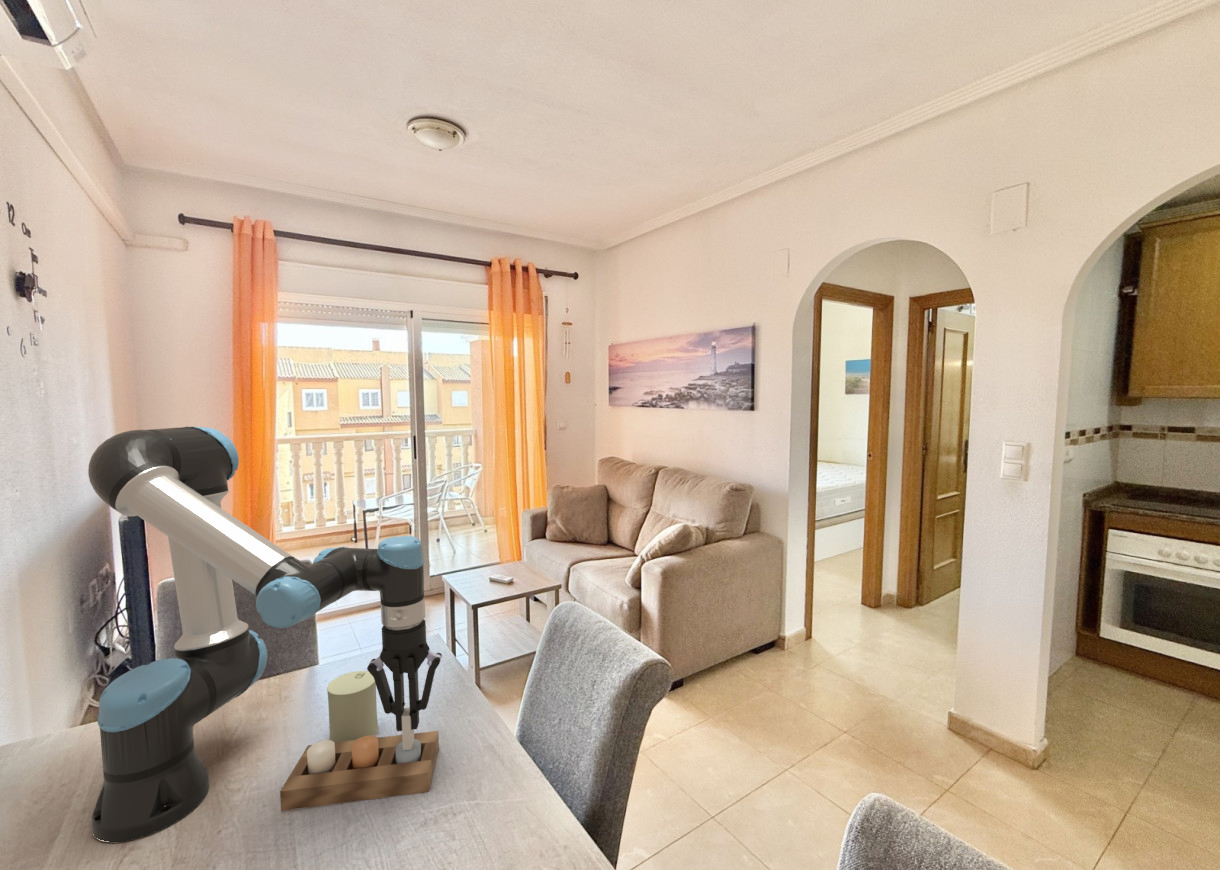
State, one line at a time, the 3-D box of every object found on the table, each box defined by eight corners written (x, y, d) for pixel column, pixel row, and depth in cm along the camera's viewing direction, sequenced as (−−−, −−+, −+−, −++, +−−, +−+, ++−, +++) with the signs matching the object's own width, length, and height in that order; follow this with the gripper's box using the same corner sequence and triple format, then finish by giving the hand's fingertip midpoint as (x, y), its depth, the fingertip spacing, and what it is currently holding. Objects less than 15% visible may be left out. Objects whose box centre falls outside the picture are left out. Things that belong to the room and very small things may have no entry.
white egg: (304, 782, 93) (303, 757, 93) (313, 765, 97) (312, 741, 97) (330, 779, 94) (329, 754, 93) (339, 762, 98) (338, 738, 98)
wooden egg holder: (281, 810, 89) (280, 791, 89) (308, 762, 101) (307, 745, 100) (428, 791, 93) (428, 772, 93) (438, 747, 105) (438, 730, 105)
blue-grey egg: (393, 779, 96) (393, 755, 95) (399, 763, 100) (398, 740, 100) (419, 776, 96) (418, 752, 96) (423, 760, 101) (422, 737, 100)
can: (387, 723, 113) (385, 669, 112) (362, 751, 104) (360, 693, 103) (346, 720, 114) (344, 667, 113) (319, 749, 105) (316, 691, 104)
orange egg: (349, 776, 94) (348, 752, 94) (356, 760, 98) (355, 736, 98) (375, 773, 95) (374, 749, 95) (381, 757, 99) (380, 734, 99)
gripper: (359, 634, 91) (365, 763, 93) (437, 627, 94) (442, 754, 95) (371, 616, 99) (376, 736, 100) (443, 611, 101) (447, 728, 103)
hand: (408, 745), depth 98 cm, fingers closed
